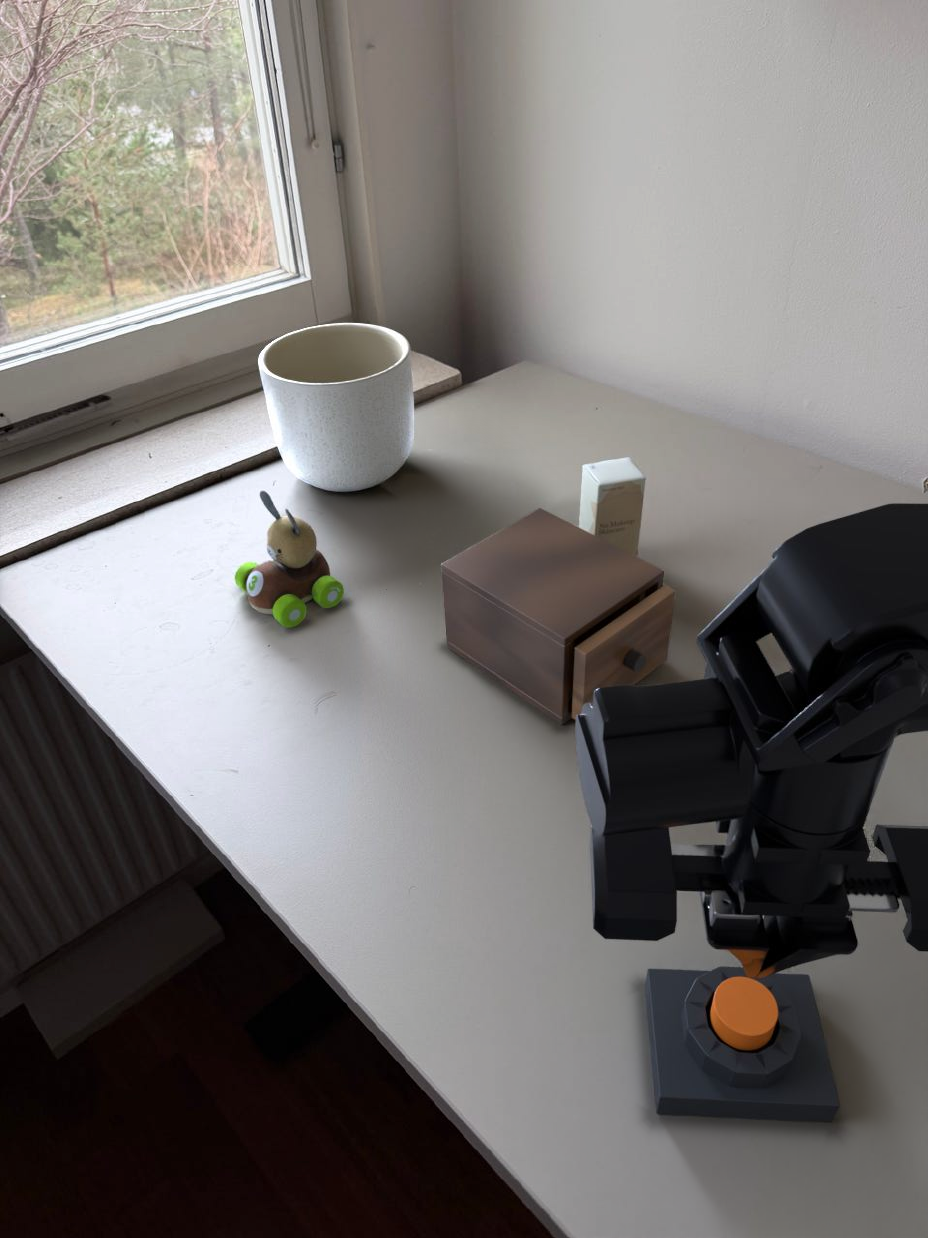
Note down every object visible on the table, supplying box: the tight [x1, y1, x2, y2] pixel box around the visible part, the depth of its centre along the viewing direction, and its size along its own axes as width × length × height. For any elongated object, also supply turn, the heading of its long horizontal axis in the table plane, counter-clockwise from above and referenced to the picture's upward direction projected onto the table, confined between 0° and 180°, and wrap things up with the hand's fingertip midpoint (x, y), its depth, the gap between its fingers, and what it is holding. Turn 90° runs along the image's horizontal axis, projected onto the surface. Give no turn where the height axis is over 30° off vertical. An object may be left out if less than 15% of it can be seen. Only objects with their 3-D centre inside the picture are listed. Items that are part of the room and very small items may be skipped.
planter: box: [257, 322, 415, 493], centre depth 109 cm, size 17×17×15 cm
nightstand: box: [440, 507, 665, 726], centre depth 84 cm, size 15×13×10 cm
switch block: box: [644, 965, 841, 1124], centre depth 56 cm, size 10×8×4 cm
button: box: [710, 977, 778, 1051], centre depth 54 cm, size 4×4×2 cm
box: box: [578, 456, 647, 557], centre depth 94 cm, size 5×4×11 cm
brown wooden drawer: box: [569, 584, 676, 721], centre depth 82 cm, size 15×11×8 cm
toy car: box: [234, 490, 345, 628], centre depth 91 cm, size 9×9×11 cm
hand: (752, 969), depth 53 cm, fingers closed
